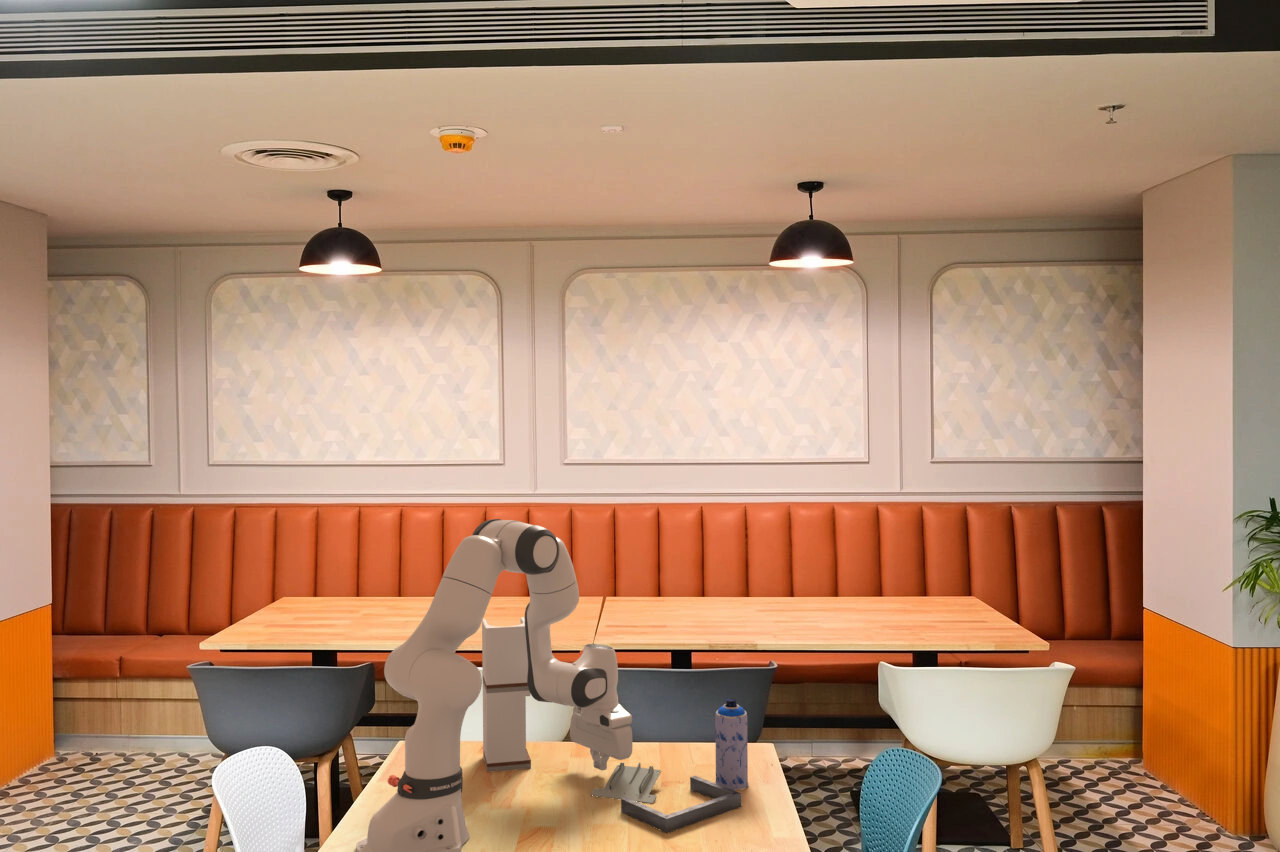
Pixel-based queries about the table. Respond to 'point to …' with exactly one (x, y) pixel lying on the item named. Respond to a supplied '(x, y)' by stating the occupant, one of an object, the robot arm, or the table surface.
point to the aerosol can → (731, 746)
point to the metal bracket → (630, 784)
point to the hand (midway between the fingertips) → (600, 768)
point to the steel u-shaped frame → (720, 804)
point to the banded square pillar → (504, 697)
